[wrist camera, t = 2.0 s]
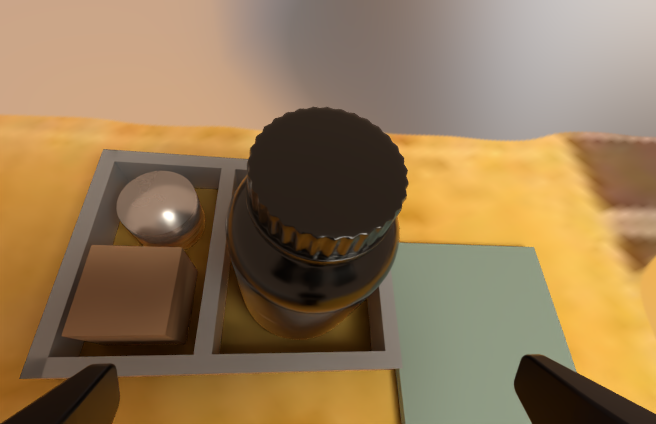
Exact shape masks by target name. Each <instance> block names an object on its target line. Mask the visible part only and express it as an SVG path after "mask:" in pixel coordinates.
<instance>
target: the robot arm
mask: <svg viewBox="0 0 656 424" xmlns="http://www.w3.org/2000/svg"><path fill="white" fill-rule="evenodd" d="M514 389H515V392H516V394H517V396H518V398H519V400H520V402H521V404H522V406H523V408H524V410H525V411H526V413H527V415H528V417H529V419H530V421H531V423H532V424H656V414H654V413H652V412H651V411H649V410H647V409H645V408H643V407H641V406H639V405H637V404H635V403H634V402H632V401H630V400H628V399H626V398H624V397H622V396H620V395H618V394H616V393H615V392H613V391H611V390H609V389H607V388H605V387H603V386H601V385H599V384H597V383H596V382H594V381H592V380H590V379H588V378H586V377H584V376H582V375H580V374H578V373H577V372H575V371H573V370H571V369H569V368H567V367H565V366H563V365H561V364H559V363H558V362H556V361H554V360H552V359H550V358H548V357H546V356H544V355H541V354H526V355H524V356H523V357H522V358H521V360H520V363H519V366H518V369H517V372H516V375H515V378H514ZM119 401H120V391H119V383H118V375H117V369H116V366H115V365H114V364H112V363H101V364H91V365H89V366H87V367H85V368H84V369H82V370H81V371H79V372H78V373H76V374H75V375H73V376H72V377H70V378H69V379H67V380H66V381H64V382H63V383H61V384H60V385H58V386H57V387H55V388H54V389H52V390H51V391H49V392H48V393H46V394H45V395H43V396H42V397H40V398H39V399H37V400H36V401H34V402H33V403H31V404H30V405H28V406H26V407H25V408H23V409H22V410H20V411H19V412H17V413H16V414H14V415H13V416H11V417H10V418H8V419H7V420H5V421H4V422H2V423H1V424H112V422H113V420H114V417H115V414H116V412H117V409H118V406H119Z"/></svg>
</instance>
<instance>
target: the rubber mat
mask: <svg viewBox="0 0 656 424" xmlns="http://www.w3.org/2000/svg"><path fill="white" fill-rule="evenodd" d="M391 274H392V283H393V291H394V299H395V307H396V316H397V324H398V332H399V341H400V349H401V357H402V365H403V368H401V369H395V370H396V379H397V388H398V397H399V406H400V415H401V424H532V423H531V421H530V419H529V417H528V415H527V413H526V411H525V410H524V408H523V406H522V404H521V402H520V400H519V398H518V396H517V394H516V392H515V389H514V378H515V375H516V372H517V369H518V366H519V363H520V360H521V358H522V357H523V356H524V355H526V354H541V355H544V356H546V357H548V358H550V359H552V360H554V361H556V362H558V363H559V364H561V365H563V366H565V367H567V368H569V369H571V370H573V371H575V372H576V369H575V366H574V363H573V360H572V357H571V354H570V351H569V348H568V345H567V342H566V339H565V337H564V334H563V331H562V328H561V325H560V322H559V319H558V316H557V313H556V310H555V307H554V304H553V302H552V299H551V296H550V293H549V290H548V287H547V284H546V281H545V278H544V275H543V272H542V269H541V266H540V264H539V261H538V258H537V255H536V252H535V249H534V247H512V246H482V245H453V244H423V243H399V247H398V251H397V255H396V258H395V261H394V264H393V266H392V268H391Z"/></svg>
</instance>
